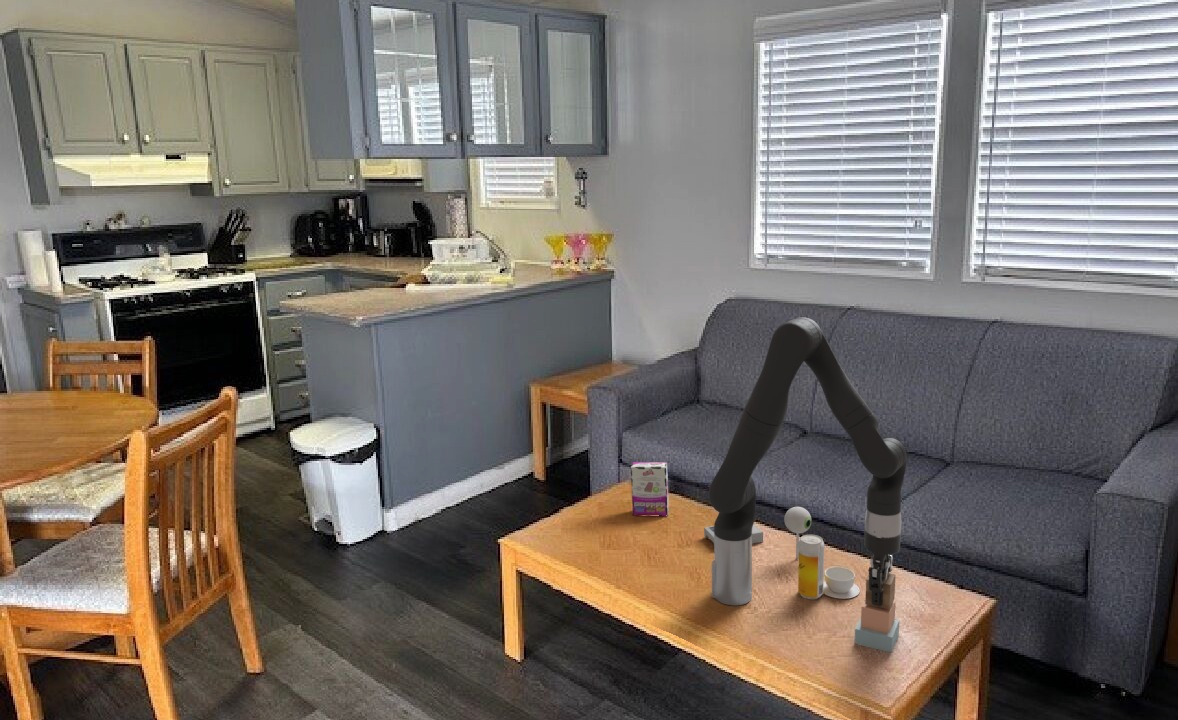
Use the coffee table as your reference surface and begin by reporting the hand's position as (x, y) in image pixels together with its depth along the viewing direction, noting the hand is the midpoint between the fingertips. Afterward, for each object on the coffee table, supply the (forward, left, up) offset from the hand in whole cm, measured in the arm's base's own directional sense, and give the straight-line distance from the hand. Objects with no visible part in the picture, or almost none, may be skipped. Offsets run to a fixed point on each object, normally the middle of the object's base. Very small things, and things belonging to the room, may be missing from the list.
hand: (879, 598), depth 185 cm
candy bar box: (-78, +40, -10) cm, 88 cm away
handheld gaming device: (-48, +33, -11) cm, 59 cm away
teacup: (-13, +18, -10) cm, 25 cm away
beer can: (-19, +13, -10) cm, 25 cm away
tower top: (0, 0, -6) cm, 6 cm away
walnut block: (0, 0, -1) cm, 1 cm away
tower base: (0, 0, -10) cm, 10 cm away
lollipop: (-28, +30, -10) cm, 42 cm away
